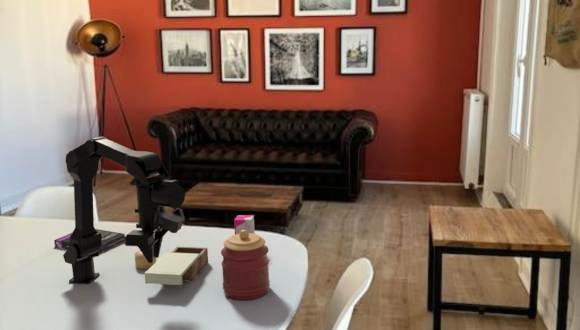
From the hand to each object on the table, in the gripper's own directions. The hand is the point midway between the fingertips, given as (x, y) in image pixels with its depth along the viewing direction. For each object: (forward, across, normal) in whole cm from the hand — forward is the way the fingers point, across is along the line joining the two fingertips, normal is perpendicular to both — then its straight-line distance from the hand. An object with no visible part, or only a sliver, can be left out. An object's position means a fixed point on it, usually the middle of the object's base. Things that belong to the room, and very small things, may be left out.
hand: (153, 260), depth 143 cm
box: (+13, +40, +42) cm, 60 cm away
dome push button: (+12, +24, +14) cm, 30 cm away
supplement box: (+12, +40, -14) cm, 44 cm away
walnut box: (+12, +21, 0) cm, 24 cm away
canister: (+12, +10, -22) cm, 27 cm away
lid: (+9, +12, 0) cm, 15 cm away
